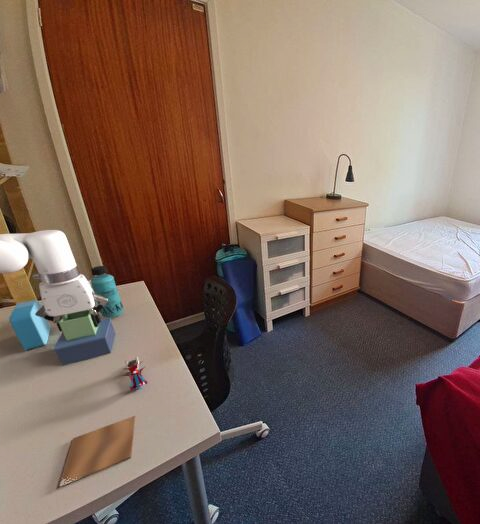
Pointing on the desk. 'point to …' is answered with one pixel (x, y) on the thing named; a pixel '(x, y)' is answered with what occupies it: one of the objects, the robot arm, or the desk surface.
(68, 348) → the blue block
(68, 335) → the green tub
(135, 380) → the toy action figure
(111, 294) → the beverage bottle
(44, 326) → the data package
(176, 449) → the desk surface
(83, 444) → the cork mat
